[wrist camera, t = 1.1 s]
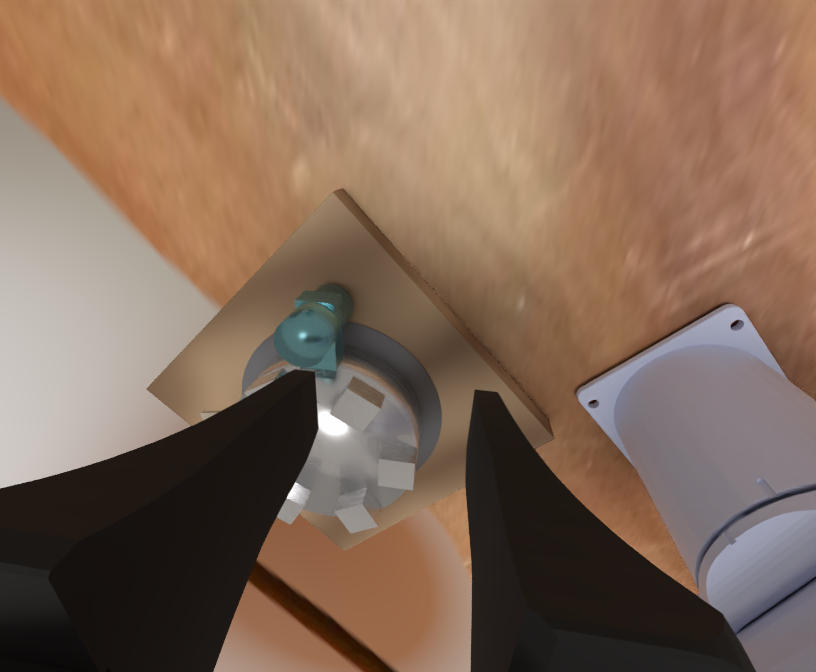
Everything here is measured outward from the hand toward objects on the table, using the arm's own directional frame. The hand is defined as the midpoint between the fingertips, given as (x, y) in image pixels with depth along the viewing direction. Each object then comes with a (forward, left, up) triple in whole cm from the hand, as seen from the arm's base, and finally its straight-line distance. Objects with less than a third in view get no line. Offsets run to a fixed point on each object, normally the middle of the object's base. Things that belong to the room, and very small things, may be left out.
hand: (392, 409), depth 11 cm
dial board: (-2, +7, -9) cm, 12 cm away
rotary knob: (-1, +6, -7) cm, 10 cm away
